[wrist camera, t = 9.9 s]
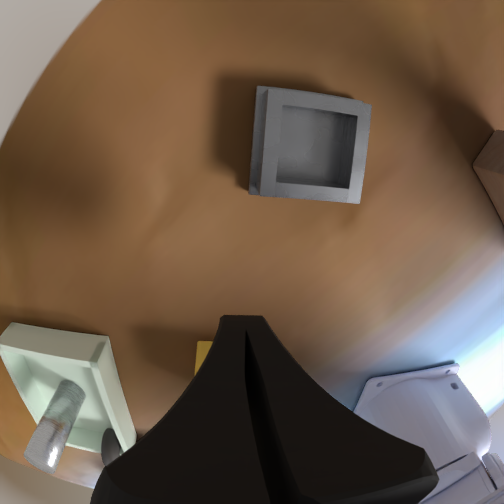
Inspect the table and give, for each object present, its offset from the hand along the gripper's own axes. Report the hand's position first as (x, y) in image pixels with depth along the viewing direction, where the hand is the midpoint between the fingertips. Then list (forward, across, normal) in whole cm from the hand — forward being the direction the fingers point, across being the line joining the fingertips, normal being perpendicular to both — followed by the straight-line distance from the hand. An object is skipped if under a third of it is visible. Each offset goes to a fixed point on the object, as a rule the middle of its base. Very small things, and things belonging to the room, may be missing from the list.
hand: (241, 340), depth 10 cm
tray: (+7, +12, +11) cm, 17 cm away
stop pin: (+6, +12, +11) cm, 17 cm away
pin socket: (+7, -3, -6) cm, 9 cm away
